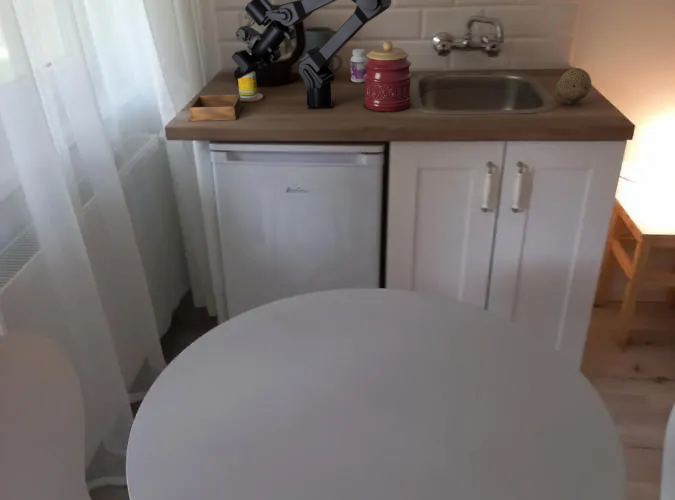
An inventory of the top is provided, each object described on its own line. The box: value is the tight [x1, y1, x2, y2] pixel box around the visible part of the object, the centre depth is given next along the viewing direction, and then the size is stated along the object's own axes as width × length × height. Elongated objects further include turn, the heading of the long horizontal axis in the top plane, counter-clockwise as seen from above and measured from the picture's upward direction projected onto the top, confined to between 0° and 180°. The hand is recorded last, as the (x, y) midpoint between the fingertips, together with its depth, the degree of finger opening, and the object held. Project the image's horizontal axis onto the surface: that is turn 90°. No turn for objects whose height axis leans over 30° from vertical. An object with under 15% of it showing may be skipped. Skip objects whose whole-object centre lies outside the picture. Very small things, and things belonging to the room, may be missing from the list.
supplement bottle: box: [237, 71, 258, 99], centre depth 186 cm, size 5×5×10 cm
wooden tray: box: [188, 93, 242, 122], centre depth 175 cm, size 12×12×4 cm
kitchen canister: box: [363, 40, 412, 112], centre depth 173 cm, size 13×13×18 cm
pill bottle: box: [350, 48, 368, 83], centre depth 201 cm, size 5×5×10 cm
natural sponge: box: [555, 67, 592, 105], centre depth 171 cm, size 9×9×10 cm
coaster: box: [236, 92, 264, 103], centre depth 188 cm, size 9×9×1 cm
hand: (242, 75), depth 186 cm, fingers open, 5 cm apart
